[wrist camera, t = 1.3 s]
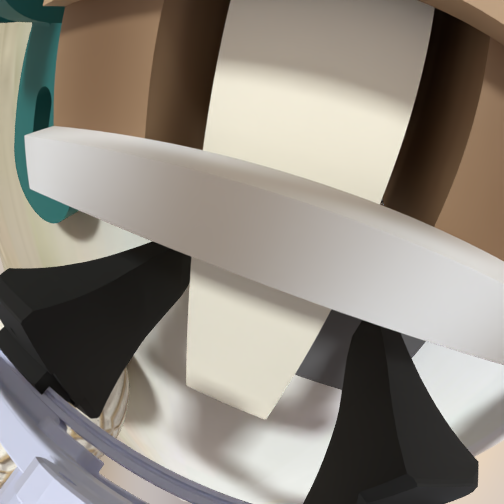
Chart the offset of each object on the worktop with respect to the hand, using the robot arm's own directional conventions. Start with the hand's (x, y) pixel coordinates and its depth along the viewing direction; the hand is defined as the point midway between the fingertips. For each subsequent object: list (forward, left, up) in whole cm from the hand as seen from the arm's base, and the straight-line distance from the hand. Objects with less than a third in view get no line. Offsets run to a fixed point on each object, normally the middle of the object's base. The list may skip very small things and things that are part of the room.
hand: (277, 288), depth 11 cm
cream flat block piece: (0, -4, -2) cm, 4 cm away
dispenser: (0, -9, -1) cm, 9 cm away
